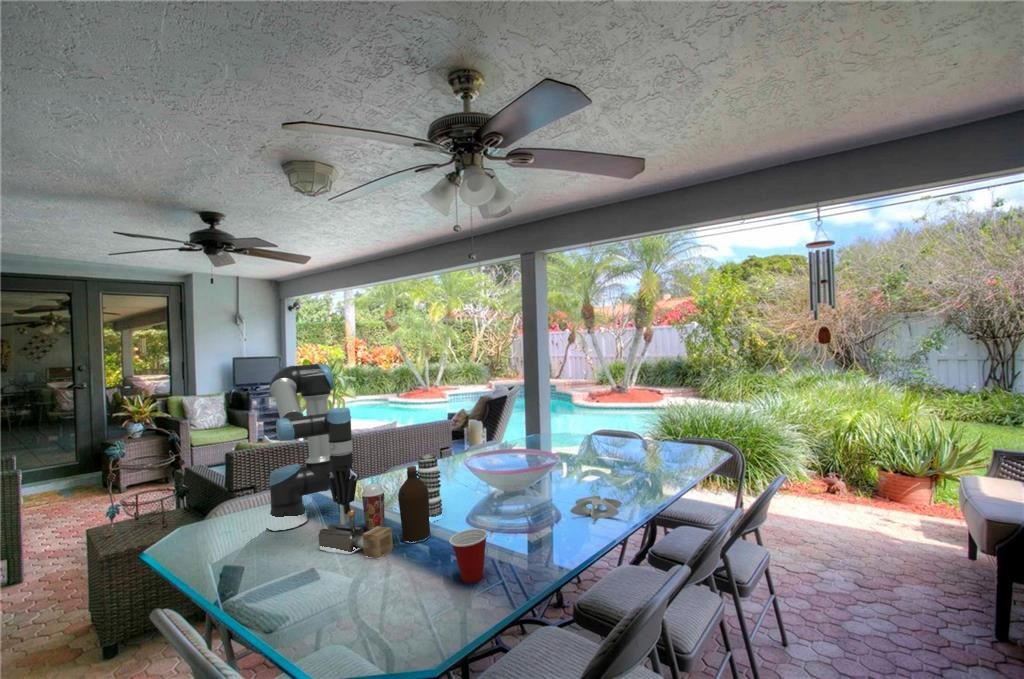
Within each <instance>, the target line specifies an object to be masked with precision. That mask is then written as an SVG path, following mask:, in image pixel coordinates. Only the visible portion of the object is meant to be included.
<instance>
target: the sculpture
mask: <svg viewBox="0 0 1024 679" xmlns="http://www.w3.org/2000/svg"><path fill="white" fill-rule="evenodd" d="M574 503H575V505H574V506H573V507H572V508H570V510H569V511H570V513H571V514H573V515H576V516H582V517H591V519H592V520H598V519H605V518H612V517H615V516H618V515H619V514H620V511H619V508H620V507H621V506H622V504H623V503H622V502H621V501H620V500H618V499H614V498H606V497H603V498H601V496H599V495H592V496H587V497H582V498H579V499H577V500H575V502H574ZM587 505H591V508H589V507H587ZM601 506H604V507H605V508H606V509H603V510H602V509H601Z"/></svg>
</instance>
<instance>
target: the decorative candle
mask: <svg viewBox="0 0 1024 679" xmlns="http://www.w3.org/2000/svg"><path fill="white" fill-rule="evenodd" d="M416 462H417V464H418V467H417V469H418V470H417V477H418V478H419V479H420V480H421V481H422V482H423V483H424V484H425V485H426V486H427V488H428V491H429V517H436V516H439V515H441V514H442V512H443V507H442V506H443V503H442V502H443V500H442V498H441V492H440V489H441V486H442V484H441V480H440V478H441V475H440V474H441V471H440V470H439V465H438V456H437V455H436V454H434V453H425V454H421V455H420V456H419V458H418V459H417V461H416Z"/></svg>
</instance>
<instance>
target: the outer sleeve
mask: <svg viewBox="0 0 1024 679" xmlns="http://www.w3.org/2000/svg"><path fill="white" fill-rule="evenodd" d="M364 533H365V532H364V529H363V527H357V526H355V534H356V535H359V536H363V534H364ZM352 535H354V532H350V525H341V524H340V525H338V524H330V525H328V526H327V528H321V529H320V530H319V532H318V544H319V545H318V546H322V547H323V546H324V547H330V548H336V549H340V550H344V551H348V552H352V551H354V550H355V549H354V550H353V546H352ZM356 549H357V548H356Z"/></svg>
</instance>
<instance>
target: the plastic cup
mask: <svg viewBox="0 0 1024 679" xmlns="http://www.w3.org/2000/svg"><path fill="white" fill-rule="evenodd" d="M487 537H488V531H487V530H486V529H484V528H483V529H482V528H470V529H469V528H468V529H465V530H461V531H459V532H456V533H455V534H453V535H452V536H451V537H450V538H449V544H450V545H451V546H452V548H453V551H454V554H455V558H456V562H457V566H458V569H459V572H460V576H461V577H460V578H461V579H462V581H463V582H464V583H466V584H474V583H475V584H476V583H477V582H480V581H482V579H483V576H484V566H485V556H486V555H485V554H486V543H487Z"/></svg>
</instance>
